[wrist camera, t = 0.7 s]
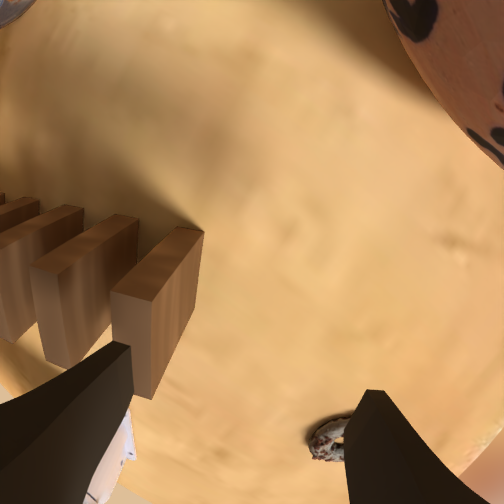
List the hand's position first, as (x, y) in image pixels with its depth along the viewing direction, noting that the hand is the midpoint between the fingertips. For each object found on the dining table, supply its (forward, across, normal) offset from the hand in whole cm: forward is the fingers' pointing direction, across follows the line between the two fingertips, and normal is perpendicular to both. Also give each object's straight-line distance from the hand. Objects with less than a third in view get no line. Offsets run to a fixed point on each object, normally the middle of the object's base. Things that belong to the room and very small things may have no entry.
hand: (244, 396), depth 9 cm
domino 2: (+10, +8, +1) cm, 13 cm away
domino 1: (+10, +4, +1) cm, 11 cm away
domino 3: (+10, +12, +1) cm, 16 cm away
